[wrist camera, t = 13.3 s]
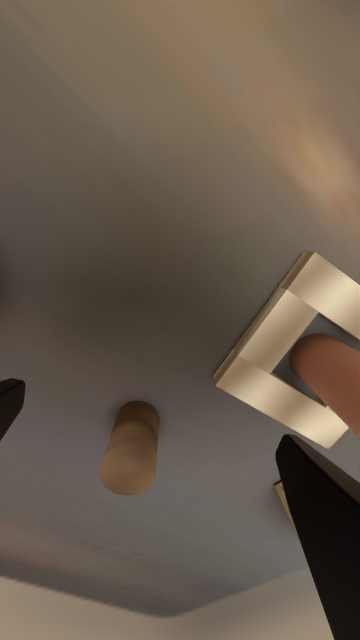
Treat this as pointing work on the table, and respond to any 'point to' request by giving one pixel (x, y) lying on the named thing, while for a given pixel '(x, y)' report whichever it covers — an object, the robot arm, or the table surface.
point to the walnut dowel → (131, 450)
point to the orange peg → (330, 374)
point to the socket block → (279, 339)
